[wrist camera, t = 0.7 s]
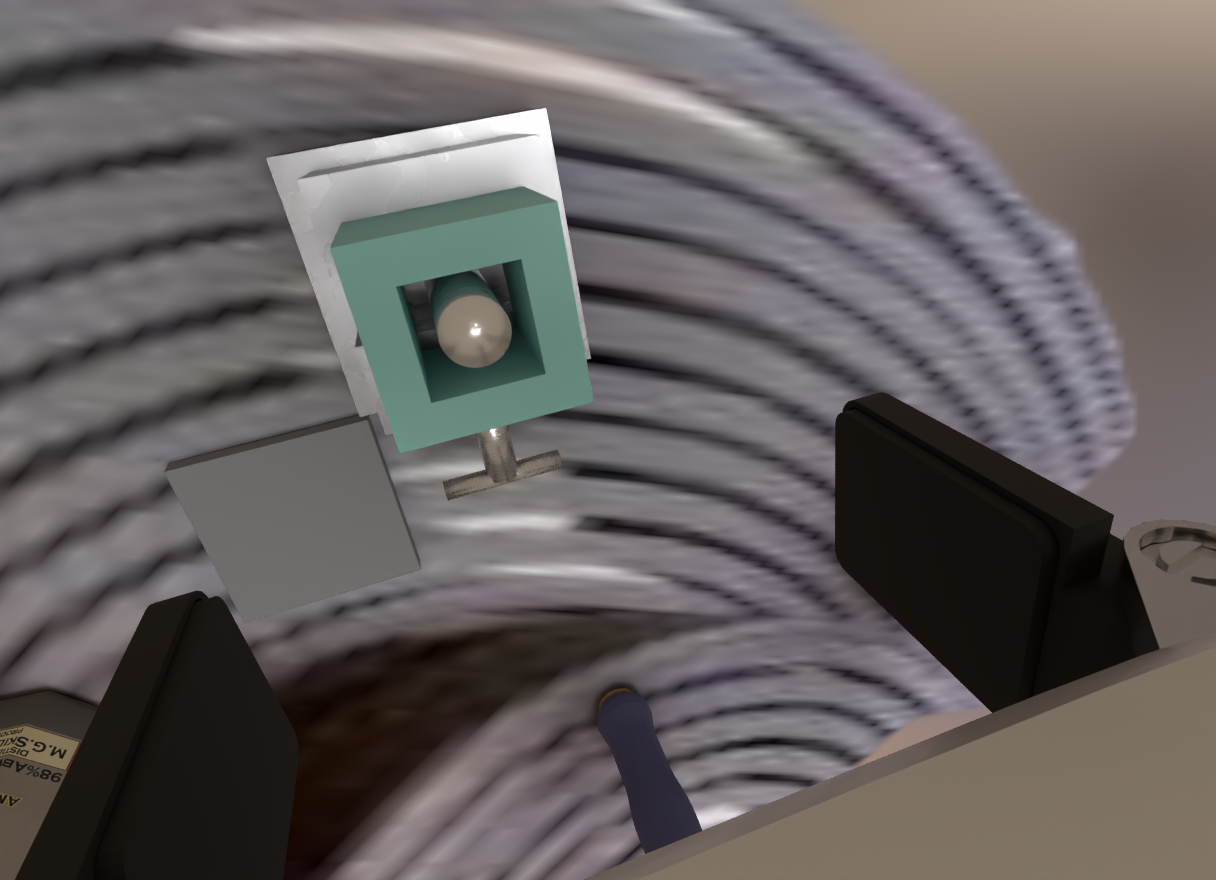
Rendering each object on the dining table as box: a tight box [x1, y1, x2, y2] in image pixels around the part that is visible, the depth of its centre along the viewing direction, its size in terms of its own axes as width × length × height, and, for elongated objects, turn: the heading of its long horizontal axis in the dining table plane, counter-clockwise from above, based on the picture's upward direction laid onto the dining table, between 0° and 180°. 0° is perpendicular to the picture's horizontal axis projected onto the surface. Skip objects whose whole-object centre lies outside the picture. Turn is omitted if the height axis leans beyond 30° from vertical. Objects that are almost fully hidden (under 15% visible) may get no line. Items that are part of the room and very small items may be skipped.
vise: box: [266, 108, 591, 500], centre depth 29 cm, size 17×12×14 cm
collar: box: [330, 186, 594, 454], centre depth 25 cm, size 7×7×6 cm
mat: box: [164, 415, 421, 623], centre depth 37 cm, size 10×10×1 cm
